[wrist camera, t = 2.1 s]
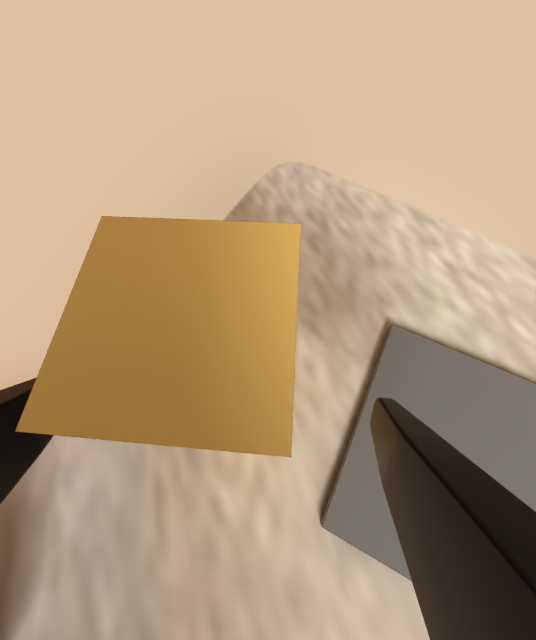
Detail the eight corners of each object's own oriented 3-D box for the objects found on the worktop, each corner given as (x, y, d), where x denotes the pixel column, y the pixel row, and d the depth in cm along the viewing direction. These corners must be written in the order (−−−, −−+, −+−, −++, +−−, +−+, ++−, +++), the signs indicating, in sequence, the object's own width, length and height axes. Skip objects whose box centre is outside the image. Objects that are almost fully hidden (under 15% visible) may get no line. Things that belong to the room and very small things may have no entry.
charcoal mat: (593, 413, 15) (605, 412, 14) (579, 677, 11) (596, 691, 10) (389, 327, 17) (392, 324, 17) (320, 522, 13) (322, 527, 13)
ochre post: (280, 429, 15) (290, 457, 3) (214, 423, 15) (15, 431, 4) (284, 362, 17) (301, 223, 5) (223, 357, 17) (102, 215, 5)
